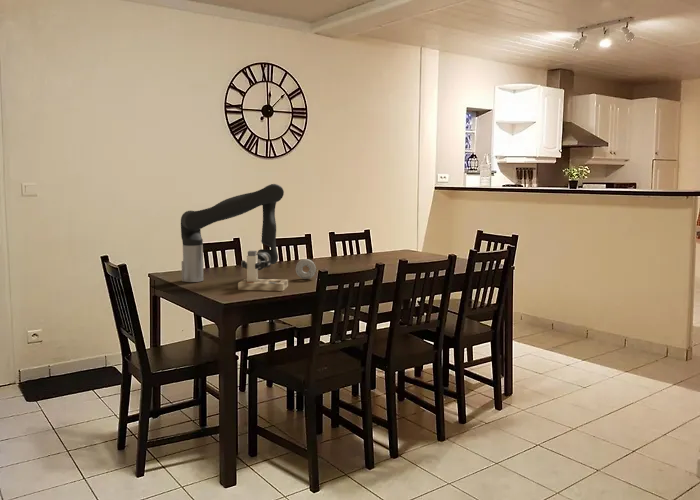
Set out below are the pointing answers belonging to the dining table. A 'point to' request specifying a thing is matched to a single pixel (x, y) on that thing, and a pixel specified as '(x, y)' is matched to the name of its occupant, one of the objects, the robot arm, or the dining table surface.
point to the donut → (301, 273)
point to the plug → (252, 266)
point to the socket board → (264, 284)
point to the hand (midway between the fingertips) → (250, 266)
